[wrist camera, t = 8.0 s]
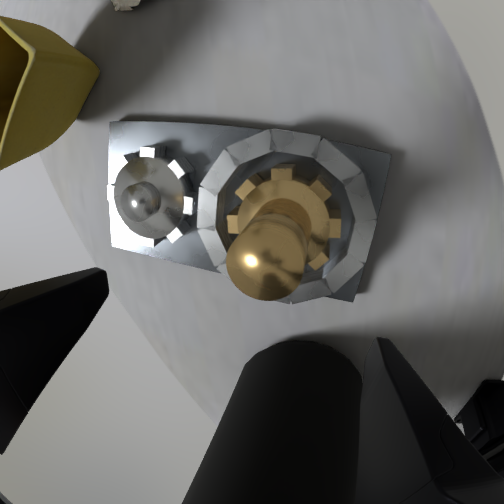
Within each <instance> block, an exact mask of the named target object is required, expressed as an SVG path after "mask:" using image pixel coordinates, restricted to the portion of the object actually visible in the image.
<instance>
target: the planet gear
mask: <svg viewBox="0 0 504 504" xmlns="http://www.w3.org/2000/svg"><path fill="white" fill-rule="evenodd" d="M235 194H236V195H238V196H239V197H240V198H241V199H242V200H243V202H242V204H241V206H236V207H235V208H234V209H233V210H232V211H231V212H230V213H229V214H228V215H227V222H228V233H236V234H239V235H238V236H237V238H236V239H235V240H234V242H233V243H232V244H231V246H230V247H229V250H228V252H227V256H226V267H227V271H228V274H229V277H230V279H231V280H232V282H233V283H234V284H235V286H236V287H237V288H238V289H239V290H241V291H242V292H243V293H245V294H246V295H248V296H250V297H252V298H255V299H259V300H264V301H273V300H279V299H282V298H284V297H286V296H288V295H290V294H291V293H292V292H293V291H295V289H296V288H297V287H298V285H299V284H300V282H301V279H302V276H303V271H304V266H305V265H306V264H309V265H310V266H311V267H312V268H313V269H314V270H315V271H316V270H317V269H318V268H319V267H321V266H322V265H323V264H324V263H326V262H327V261H328V260H329V254H330V246H329V245H328V244H327V241H328V238H340V235H341V210H340V209H329V205H328V202H327V199H328V198H329V197H330V196H331V195H332V187H331V186H330V185H329V184H328V183H327V182H326V181H325V180H324V179H323V178H322V177H321V176H320V175H319V174H318V175H317V176H316V177H315V178H314V179H312V180H311V181H310V180H308V179H306V178H304V177H302V176H299V175H296V164H276V165H275V166H274V167H272V168H271V177H269V178H267V179H265V180H264V181H263V180H262V179H261V178H260V177H259V176H258V175H257V174H256V173H255V174H253V175H252V176H251V177H249V178H248V179H247V180H246V181H245V182H244V183H243V184H242V185H241V186H240V187H239V188H238V189H237V190H236V192H235Z"/></svg>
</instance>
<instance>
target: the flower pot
mask: <svg viewBox="0 0 504 504" xmlns="http://www.w3.org/2000/svg"><path fill="white" fill-rule="evenodd" d="M99 73H100V71H99V69H98V67H97V66H96V64H95V63H94V62H93V61H91V60H90V59H89V58H87V57H86V56H85V55H83V54H82V53H81V52H79V51H78V50H77V49H75V48H74V47H73V46H71V45H70V44H69V43H68V42H66V41H65V40H64V39H63V38H61V37H60V36H59V35H57V34H56V33H54V32H53V31H51V30H49V29H47V28H45V27H43V26H40V25H37V24H33V23H29V22H25V21H21V20H17V19H12V18H8V17H2V16H0V170H2V169H4V168H6V167H8V166H10V165H12V164H14V163H16V162H18V161H20V160H23V159H25V158H27V157H29V156H31V155H33V154H35V153H37V152H39V151H41V150H43V149H45V148H46V147H48V146H49V145H51V144H52V143H54V142H55V141H56V140H57V139H58V138H59V137H60V136H61V135H62V134H64V132H65V131H66V130H67V129H68V128H69V127H70V126H71V125H72V123H73V122H74V121H75V120H76V118H77V116H78V114H79V112H80V110H81V108H82V106H83V104H84V102H85V100H86V98H87V96H88V94H89V92H90V91H91V89H92V87H93V85H94V83H95V82H96V80H97V78H98V76H99Z"/></svg>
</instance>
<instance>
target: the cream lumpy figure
mask: <svg viewBox="0 0 504 504" xmlns="http://www.w3.org/2000/svg"><path fill="white" fill-rule="evenodd" d="M111 1H112V3H113V5H114V6H115V9H114V10H115V11H117V10H118V9H119V10H120V11H124V10H127V11H128V10H133V9H131V7H132V6H137V5H139V3H140V1H141V0H111Z"/></svg>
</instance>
